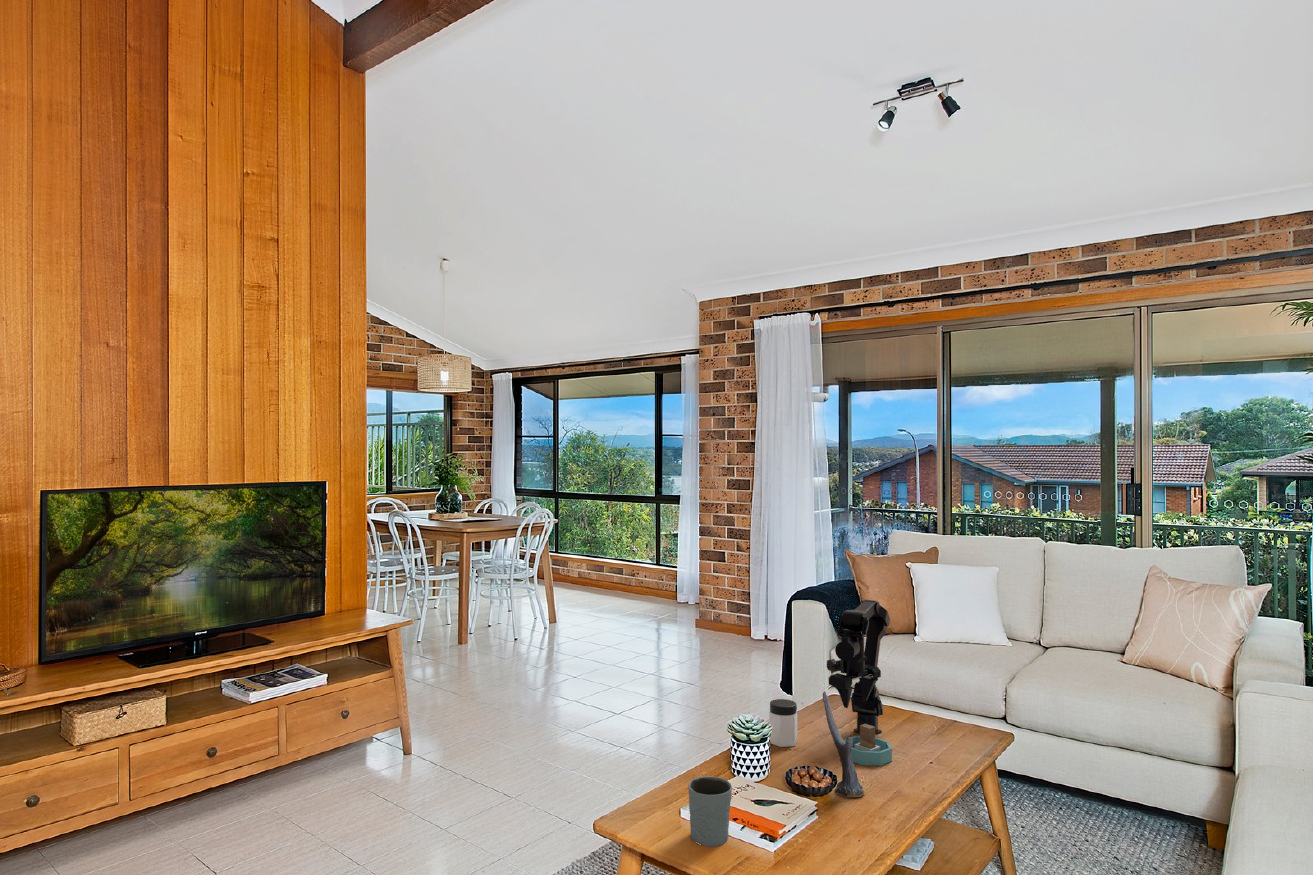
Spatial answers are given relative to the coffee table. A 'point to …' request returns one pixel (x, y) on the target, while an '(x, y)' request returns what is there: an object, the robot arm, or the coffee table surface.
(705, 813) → the grey cup
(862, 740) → the brown wooden block
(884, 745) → the dish
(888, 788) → the coffee table surface
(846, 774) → the antler
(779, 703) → the jar
